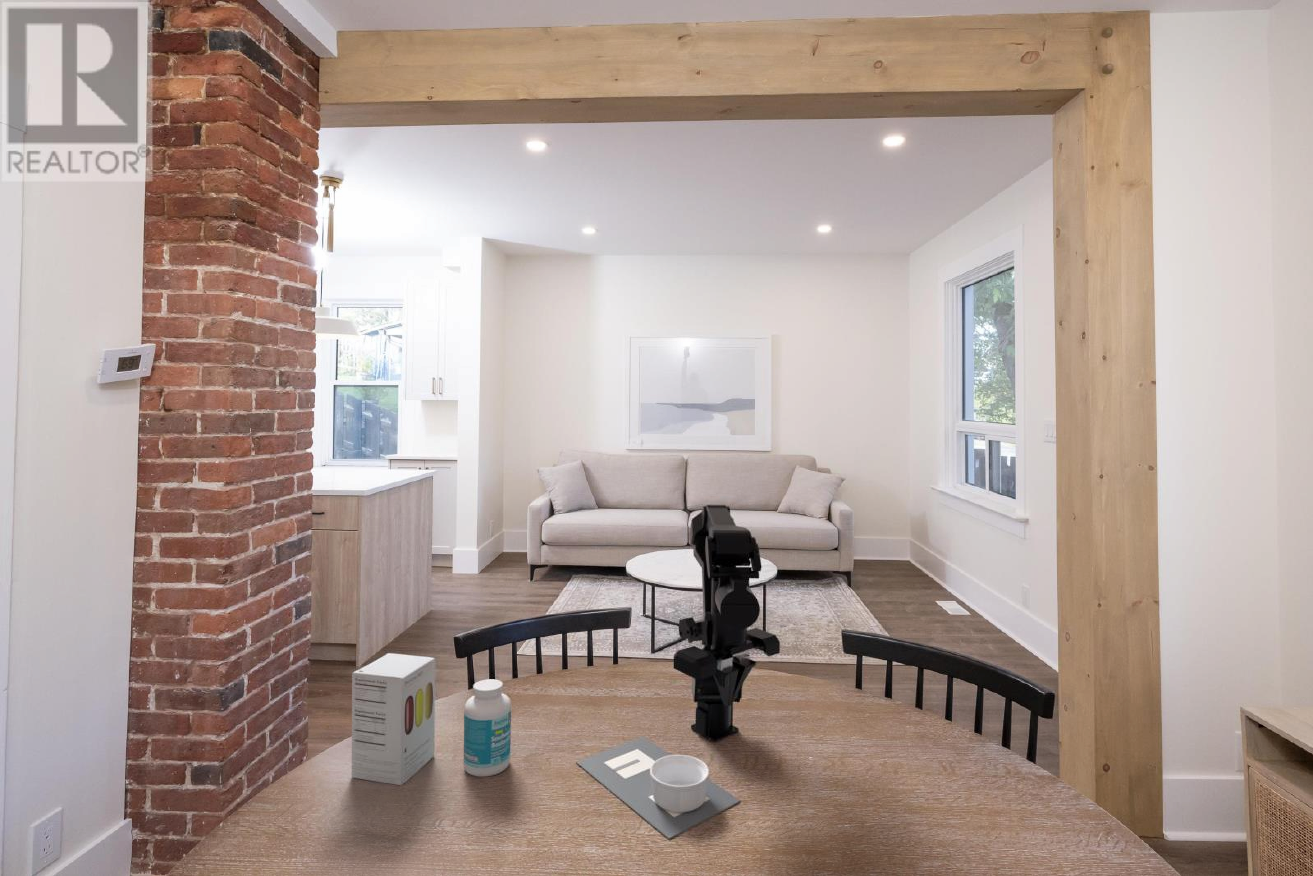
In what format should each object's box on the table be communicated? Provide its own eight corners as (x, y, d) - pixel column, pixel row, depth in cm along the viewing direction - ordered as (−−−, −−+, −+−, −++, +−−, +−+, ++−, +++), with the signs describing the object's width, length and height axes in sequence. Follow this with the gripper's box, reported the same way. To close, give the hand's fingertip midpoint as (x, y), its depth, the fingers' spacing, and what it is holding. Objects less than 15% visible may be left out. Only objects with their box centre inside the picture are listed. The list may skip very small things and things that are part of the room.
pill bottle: (498, 782, 99) (498, 696, 98) (454, 776, 100) (455, 692, 100) (518, 757, 106) (518, 677, 106) (477, 751, 107) (477, 673, 107)
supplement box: (401, 787, 97) (401, 679, 96) (349, 779, 99) (349, 672, 98) (436, 755, 106) (436, 656, 106) (388, 748, 108) (388, 651, 108)
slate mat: (643, 737, 113) (643, 735, 113) (740, 801, 94) (740, 799, 94) (576, 763, 104) (576, 761, 104) (668, 839, 86) (668, 837, 86)
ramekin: (640, 807, 92) (640, 778, 92) (662, 775, 100) (663, 749, 100) (697, 822, 89) (697, 792, 89) (716, 789, 97) (716, 761, 97)
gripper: (733, 587, 112) (732, 674, 113) (651, 606, 101) (650, 702, 101) (782, 602, 104) (780, 696, 104) (699, 624, 92) (697, 730, 92)
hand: (727, 705), depth 101 cm, fingers closed
